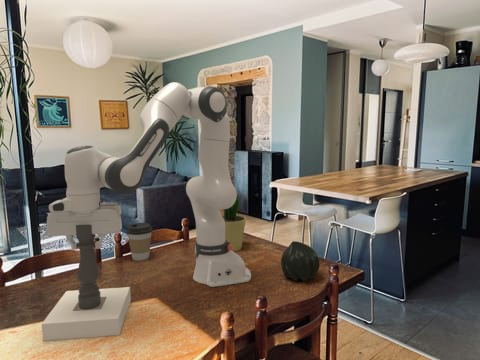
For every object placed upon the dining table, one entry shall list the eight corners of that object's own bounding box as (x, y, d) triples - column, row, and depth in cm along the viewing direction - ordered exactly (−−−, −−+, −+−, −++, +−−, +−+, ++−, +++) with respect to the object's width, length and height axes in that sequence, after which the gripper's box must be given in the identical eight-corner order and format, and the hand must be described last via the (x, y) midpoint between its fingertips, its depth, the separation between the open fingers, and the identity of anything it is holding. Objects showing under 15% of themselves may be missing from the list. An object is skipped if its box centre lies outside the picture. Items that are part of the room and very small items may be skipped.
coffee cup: (130, 254, 165) (129, 222, 163) (155, 253, 166) (154, 221, 164) (124, 263, 154) (123, 229, 151) (151, 262, 155) (150, 228, 152)
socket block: (130, 301, 120) (130, 287, 119) (119, 335, 100) (118, 318, 99) (67, 305, 117) (66, 290, 116) (43, 341, 97) (41, 323, 97)
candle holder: (93, 310, 104) (88, 226, 101) (74, 308, 105) (68, 225, 102) (105, 300, 110) (101, 221, 107) (87, 299, 111) (82, 220, 108)
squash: (333, 265, 137) (311, 231, 142) (310, 278, 126) (287, 241, 131) (309, 280, 146) (289, 248, 151) (286, 293, 135) (266, 258, 140)
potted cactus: (250, 244, 178) (250, 185, 173) (239, 254, 163) (239, 190, 159) (221, 241, 183) (221, 183, 179) (208, 250, 169) (207, 188, 164)
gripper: (123, 199, 108) (125, 243, 110) (51, 201, 105) (54, 246, 107) (119, 203, 102) (121, 250, 104) (42, 206, 99) (46, 253, 101)
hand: (86, 248), depth 105 cm, fingers closed on candle holder, 5 cm apart
